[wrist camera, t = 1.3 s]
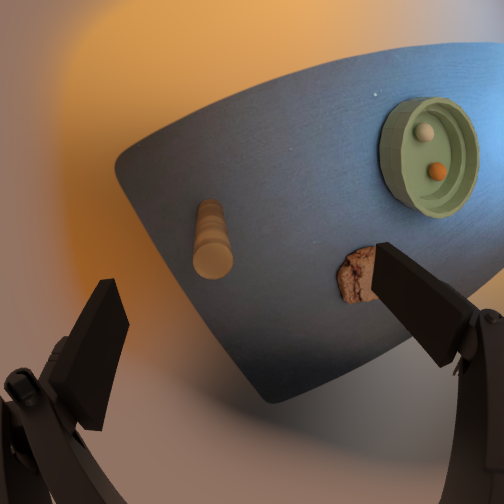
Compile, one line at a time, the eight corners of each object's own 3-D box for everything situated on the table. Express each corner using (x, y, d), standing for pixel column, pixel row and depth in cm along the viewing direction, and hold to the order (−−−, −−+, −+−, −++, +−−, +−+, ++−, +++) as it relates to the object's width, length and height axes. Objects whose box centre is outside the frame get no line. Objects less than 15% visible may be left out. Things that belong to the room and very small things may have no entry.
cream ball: (412, 119, 34) (425, 120, 31) (426, 125, 35) (439, 127, 32) (409, 138, 35) (422, 139, 32) (423, 143, 36) (436, 146, 33)
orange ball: (427, 158, 37) (440, 161, 34) (439, 163, 37) (451, 166, 35) (423, 176, 38) (436, 180, 35) (435, 180, 38) (447, 185, 36)
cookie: (380, 298, 47) (389, 307, 44) (328, 300, 45) (335, 311, 42) (397, 246, 43) (407, 253, 40) (343, 242, 41) (352, 250, 38)
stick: (199, 197, 35) (194, 240, 22) (224, 200, 36) (236, 244, 22) (196, 222, 37) (191, 277, 23) (221, 224, 37) (230, 281, 24)
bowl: (386, 81, 32) (411, 77, 27) (461, 121, 36) (485, 124, 30) (365, 195, 39) (388, 206, 33) (442, 214, 42) (465, 226, 37)
